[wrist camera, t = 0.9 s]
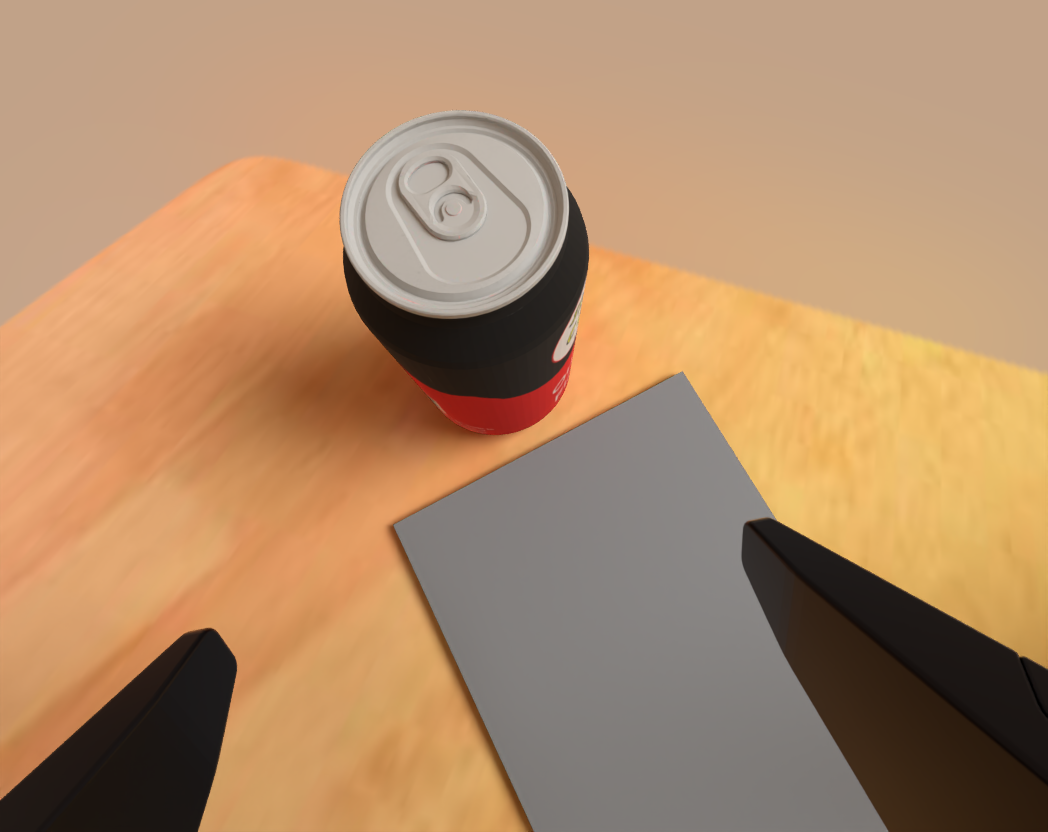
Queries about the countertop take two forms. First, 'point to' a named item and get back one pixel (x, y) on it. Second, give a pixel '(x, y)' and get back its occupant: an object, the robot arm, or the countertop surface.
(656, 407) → the rubber mat
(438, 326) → the beverage can
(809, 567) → the robot arm
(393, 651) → the countertop surface
